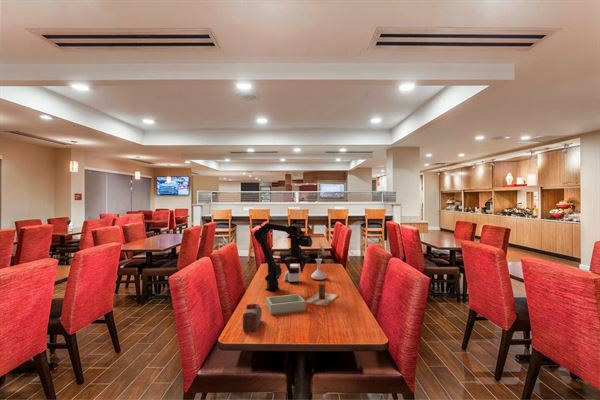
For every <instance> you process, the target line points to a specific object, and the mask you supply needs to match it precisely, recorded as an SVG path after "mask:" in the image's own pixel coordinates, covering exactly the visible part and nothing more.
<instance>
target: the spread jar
mask: <svg viewBox="0 0 600 400" xmlns="http://www.w3.org/2000/svg"><path fill="white" fill-rule="evenodd" d="M300 273H301V271H300V264H299V263H298V264H297V263H290V271H288V270H286V271H285V273H284V275H283V281H285V282H286V281H288V283H289V284H299V283H300V280H301V279H300V278H301V277H300V276H301V275H300Z"/></svg>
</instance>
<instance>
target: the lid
mask: <svg viewBox="0 0 600 400" xmlns="http://www.w3.org/2000/svg"><path fill="white" fill-rule="evenodd" d="M338 297H339V294H336V293H335V294H334V293H329V292H328V293H327V292H326V284H325V283H320V284H318V292H317V293H315V294H314V295H312V296H311V297H309V298H308V299H306V300H305V304H312V305H317V306H321V307H326V306H328V305H329V304H331V302H333V301H334V300H336V299H337V298H338Z"/></svg>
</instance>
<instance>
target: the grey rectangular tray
mask: <svg viewBox="0 0 600 400" xmlns="http://www.w3.org/2000/svg"><path fill="white" fill-rule="evenodd" d="M265 299H266V301H265V303H266V304H265V307H266V309H267V311H268V312H269V315H270V316H274V315H275V316H276V315H281V314H282V315H283V314H292V313H299V312H306V303H305V301H306V300H305V299H304V298H303V297H302V296H301V295H300V293H297V294H296V293H295V294H287V295H285V294H284V295H275V296H268V297H267V296H266V297H265Z"/></svg>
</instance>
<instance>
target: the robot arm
mask: <svg viewBox="0 0 600 400" xmlns="http://www.w3.org/2000/svg"><path fill="white" fill-rule="evenodd" d="M271 231H276V232H277V231H278V232H283V233H286V234H287V235H288V236H287V237H286V238H287V239H289V240H290V247H288V249H289V250H290V253H288V252H285V253H282V254H280V257H279V259H280V260H281V261H282V262H283V263H284V265H285V267H286V268H287V271H290V264H291V260H292V259H294V260H299V269H300V273H301V274H303V271H304V269H305V266H306V265H307V263H309V262H310V261H311V256H310V255H306V250H304V249H302V247H303V248H304V247H305V248H311V247H312V246H313V238H312V236H311V235H305V233H304V232H303V230H302V228H301V226H300V225H299V224H287V225H286V224H280V223H274V222H265V224H264V225H262V226H261V227H259V228H258V229H256V230H254V232H253V237H254V239H255V240H256V242H257V243H258V244H259V246H260V248H261V250H262V254H263V256H264V257H265V258H264V259H265V262H266V265H267V273H268V274H267V275H266V276H265V277H264V279H265V282H266V288H265V290H266V291H268V292H269V291H270V292H276V291H277V290H280V287H279V279H280V277H281V275H282V273H283V272H282V268H281V265H280V264H279V263H276V261H275V258H274V256H273V253H272V251H271V248H270V245H269V243H268V233H270V232H271Z"/></svg>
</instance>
